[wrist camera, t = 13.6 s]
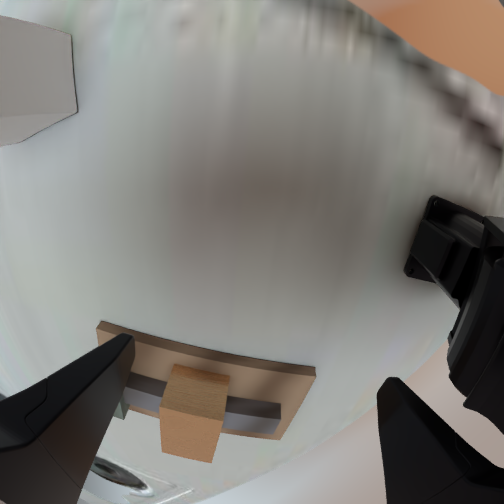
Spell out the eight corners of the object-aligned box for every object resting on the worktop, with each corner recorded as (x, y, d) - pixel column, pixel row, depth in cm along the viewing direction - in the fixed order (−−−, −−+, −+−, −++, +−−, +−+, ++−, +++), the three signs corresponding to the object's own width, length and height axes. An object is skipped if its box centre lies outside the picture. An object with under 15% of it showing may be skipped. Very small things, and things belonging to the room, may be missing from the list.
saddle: (229, 375, 24) (223, 421, 19) (217, 425, 27) (211, 463, 23) (174, 363, 24) (159, 406, 19) (172, 415, 27) (162, 452, 23)
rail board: (314, 367, 25) (320, 402, 21) (279, 432, 29) (280, 461, 26) (101, 320, 24) (81, 349, 20) (114, 395, 29) (102, 421, 25)
